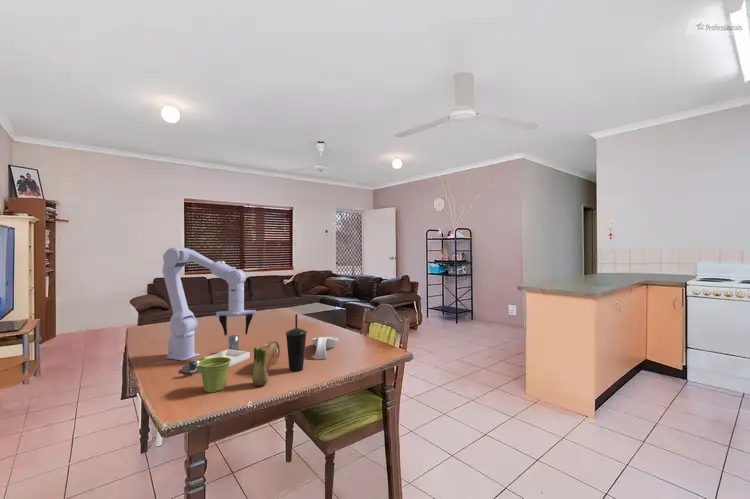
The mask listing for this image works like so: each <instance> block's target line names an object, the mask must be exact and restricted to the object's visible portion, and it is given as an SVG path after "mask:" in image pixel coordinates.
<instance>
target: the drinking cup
mask: <svg viewBox="0 0 750 499" xmlns="http://www.w3.org/2000/svg"><path fill="white" fill-rule="evenodd" d="M294 317H295V319H294V320H295V322H294V323H295V325H294V326H295V328H291V329H289V330H287V331H285V332H284V333H285V337H286V346H287V347H286V348H287V356H288V357H287V358H288V359H287V361H288V369H289V371H290V372H291V373H294V372H298V373H299V372H302V371H303V370H304V360H305V352H306V339H307V334H308V331H307V330H305V329H304V328H300V327H299V328H298V314H295V316H294Z"/></svg>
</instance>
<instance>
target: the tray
mask: <svg viewBox="0 0 750 499" xmlns="http://www.w3.org/2000/svg"><path fill="white" fill-rule="evenodd" d="M250 354H251V353H250V351H245V350H243V351H242V350H239V351H237V350H229V348H228V349H224V350H222V351H219V352H216V353H213V354H210V355H209V356H208V355H207V356H205V357H203V359H202V360H204V359H208V358H213V357H227V358H230V359H231V362H230V364H229V367H228V369H229V368H230V367H234V366H236V365H238V364H240V363H243V362H245V361H247V360H249V359H251V358H250V356H251V355H250Z"/></svg>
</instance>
